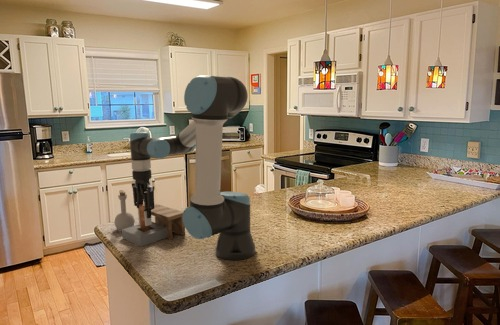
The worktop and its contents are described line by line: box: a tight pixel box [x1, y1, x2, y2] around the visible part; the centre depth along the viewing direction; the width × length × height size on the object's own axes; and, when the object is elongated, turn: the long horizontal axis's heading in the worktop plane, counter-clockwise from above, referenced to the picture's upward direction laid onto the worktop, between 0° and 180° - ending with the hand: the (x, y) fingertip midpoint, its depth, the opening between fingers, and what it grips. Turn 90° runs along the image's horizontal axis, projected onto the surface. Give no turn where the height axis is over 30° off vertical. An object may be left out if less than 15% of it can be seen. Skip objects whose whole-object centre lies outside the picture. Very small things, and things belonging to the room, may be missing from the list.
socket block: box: [121, 221, 167, 247], centre depth 155 cm, size 14×14×4 cm
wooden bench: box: [151, 203, 186, 241], centre depth 161 cm, size 21×8×10 cm, turn 49°
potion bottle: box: [114, 189, 136, 232], centre depth 165 cm, size 9×9×18 cm
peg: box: [139, 203, 151, 232], centre depth 154 cm, size 4×4×12 cm
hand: (145, 223), depth 155 cm, fingers closed on peg, 4 cm apart
